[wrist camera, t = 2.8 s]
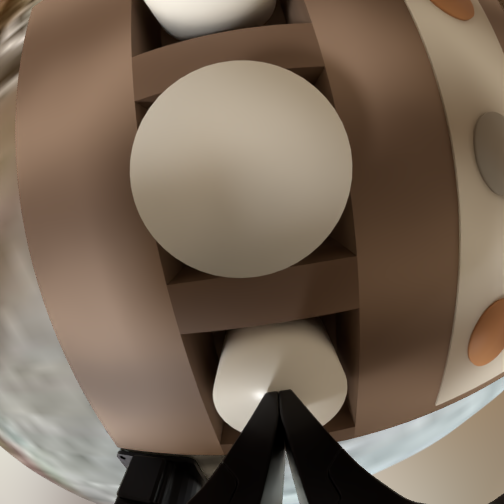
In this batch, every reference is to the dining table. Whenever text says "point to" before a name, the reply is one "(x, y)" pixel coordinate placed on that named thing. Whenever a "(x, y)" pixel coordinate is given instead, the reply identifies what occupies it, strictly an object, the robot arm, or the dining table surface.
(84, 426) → the dining table surface
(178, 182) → the button middle
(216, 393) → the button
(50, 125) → the button board
